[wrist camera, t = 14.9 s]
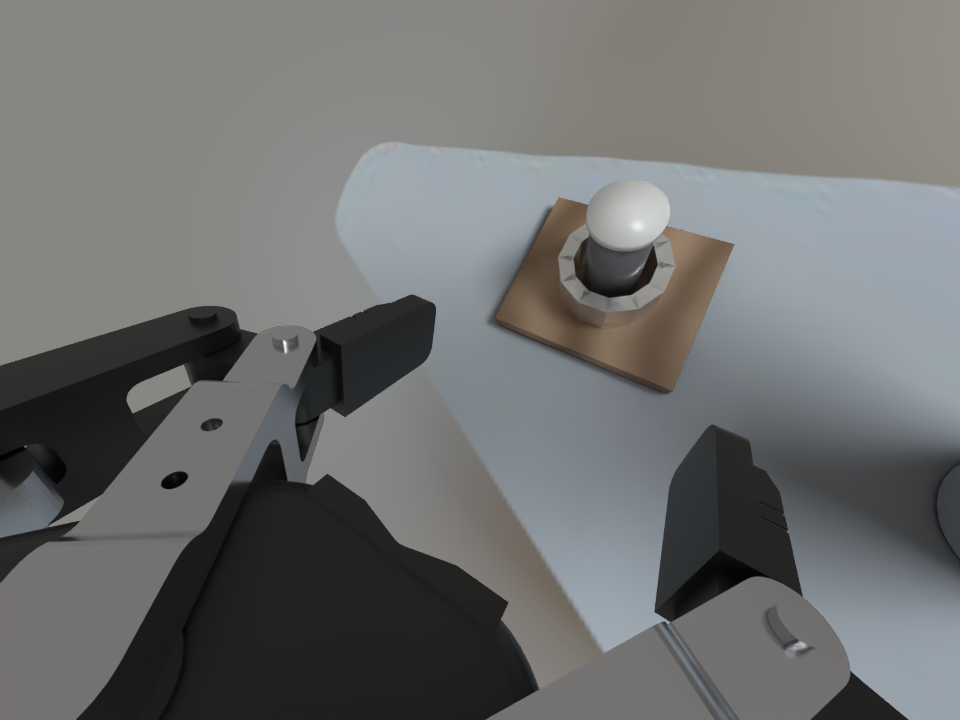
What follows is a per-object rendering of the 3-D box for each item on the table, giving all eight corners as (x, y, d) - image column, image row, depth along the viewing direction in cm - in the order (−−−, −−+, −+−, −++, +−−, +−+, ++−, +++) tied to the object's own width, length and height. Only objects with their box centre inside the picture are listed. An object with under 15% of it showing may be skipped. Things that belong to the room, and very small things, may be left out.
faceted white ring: (677, 257, 31) (690, 232, 28) (638, 342, 30) (648, 327, 26) (583, 229, 34) (585, 204, 30) (543, 307, 32) (541, 288, 29)
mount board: (726, 254, 32) (734, 244, 30) (667, 394, 29) (672, 390, 28) (558, 207, 37) (558, 197, 35) (497, 323, 34) (494, 317, 33)
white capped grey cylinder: (648, 269, 31) (682, 190, 22) (625, 317, 30) (652, 256, 22) (593, 252, 33) (604, 172, 24) (570, 297, 32) (574, 232, 23)
